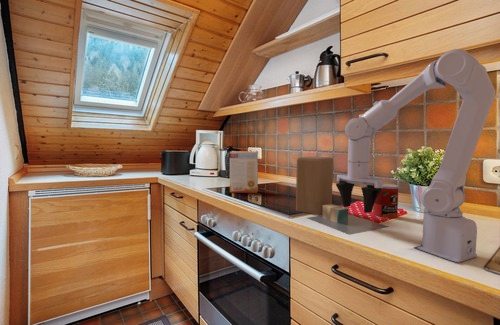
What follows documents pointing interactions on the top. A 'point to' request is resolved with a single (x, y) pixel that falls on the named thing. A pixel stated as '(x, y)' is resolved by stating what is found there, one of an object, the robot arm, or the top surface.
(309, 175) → the block
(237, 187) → the cracker box
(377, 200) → the canned food
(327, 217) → the beech block
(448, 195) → the robot arm
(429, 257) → the top surface
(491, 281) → the top surface
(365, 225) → the slate board
